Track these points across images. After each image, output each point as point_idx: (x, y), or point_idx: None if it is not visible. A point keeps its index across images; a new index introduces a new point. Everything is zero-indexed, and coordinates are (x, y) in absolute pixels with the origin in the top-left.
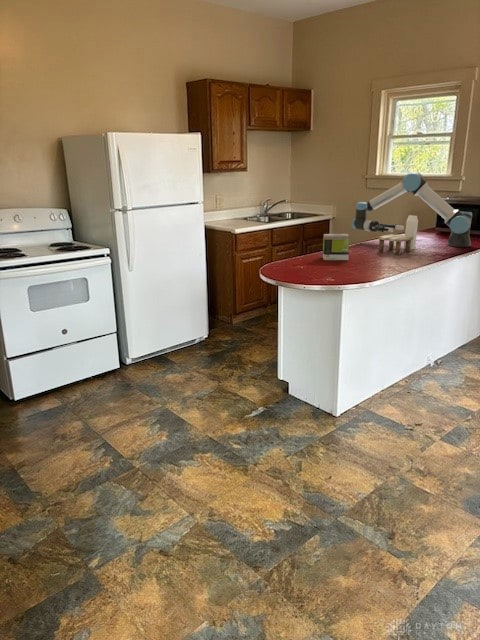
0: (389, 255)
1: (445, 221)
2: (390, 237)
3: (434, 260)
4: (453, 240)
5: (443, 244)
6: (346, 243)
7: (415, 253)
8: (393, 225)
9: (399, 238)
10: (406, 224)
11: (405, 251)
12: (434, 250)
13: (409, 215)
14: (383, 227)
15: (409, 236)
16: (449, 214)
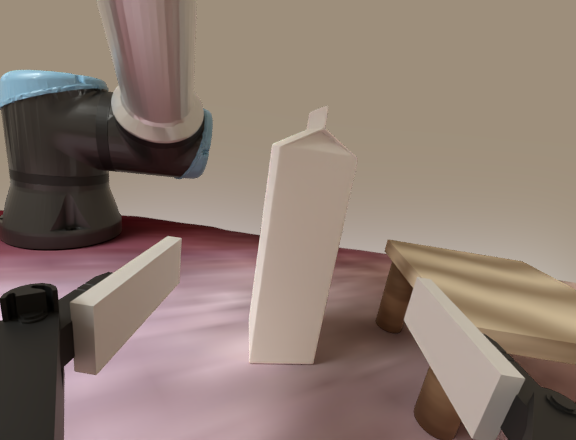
0: (547, 362)
1: (180, 134)
2: (562, 296)
3: None
4: (104, 215)
5: (43, 257)
6: None
7: (372, 299)
8: (56, 343)
9: (504, 266)
10: (349, 191)
11: (402, 324)
12: (247, 267)
13: (326, 108)
14: (553, 392)
15: (396, 247)
16: (193, 99)
